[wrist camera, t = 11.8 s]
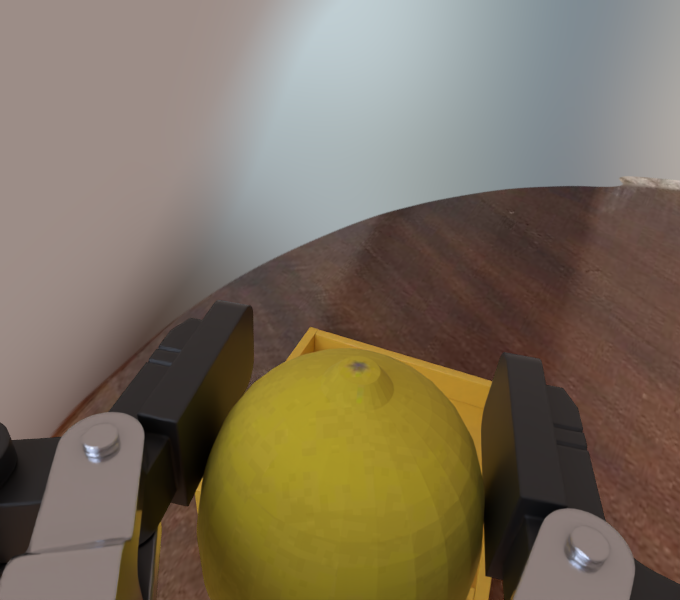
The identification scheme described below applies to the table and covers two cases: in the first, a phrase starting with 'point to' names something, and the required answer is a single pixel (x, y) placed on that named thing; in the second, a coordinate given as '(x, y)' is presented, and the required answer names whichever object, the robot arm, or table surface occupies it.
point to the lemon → (341, 487)
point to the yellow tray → (454, 385)
